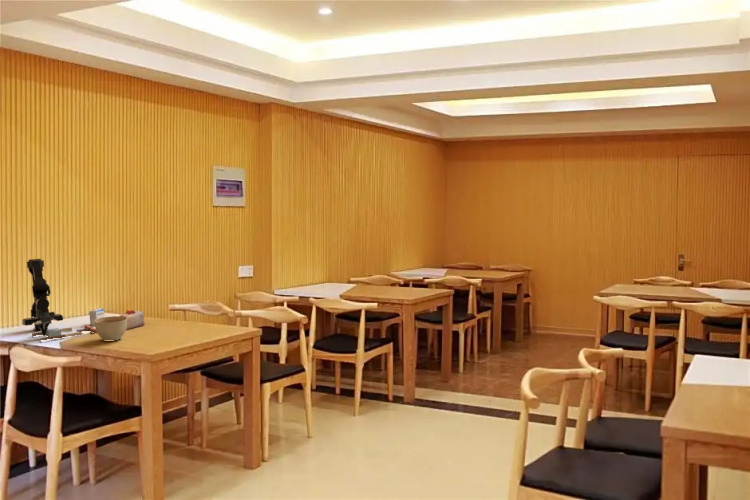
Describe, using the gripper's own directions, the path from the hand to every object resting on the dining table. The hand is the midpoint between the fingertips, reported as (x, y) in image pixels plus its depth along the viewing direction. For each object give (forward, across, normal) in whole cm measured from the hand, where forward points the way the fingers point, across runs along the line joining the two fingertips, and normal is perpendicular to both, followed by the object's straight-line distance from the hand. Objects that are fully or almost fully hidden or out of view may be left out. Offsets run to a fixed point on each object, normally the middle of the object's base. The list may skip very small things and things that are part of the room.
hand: (44, 335), depth 369 cm
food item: (+2, +43, -8) cm, 44 cm away
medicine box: (+2, +32, +14) cm, 35 cm away
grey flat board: (+1, +10, 0) cm, 10 cm away
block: (+2, +4, 0) cm, 5 cm away
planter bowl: (+2, +25, -30) cm, 39 cm away
